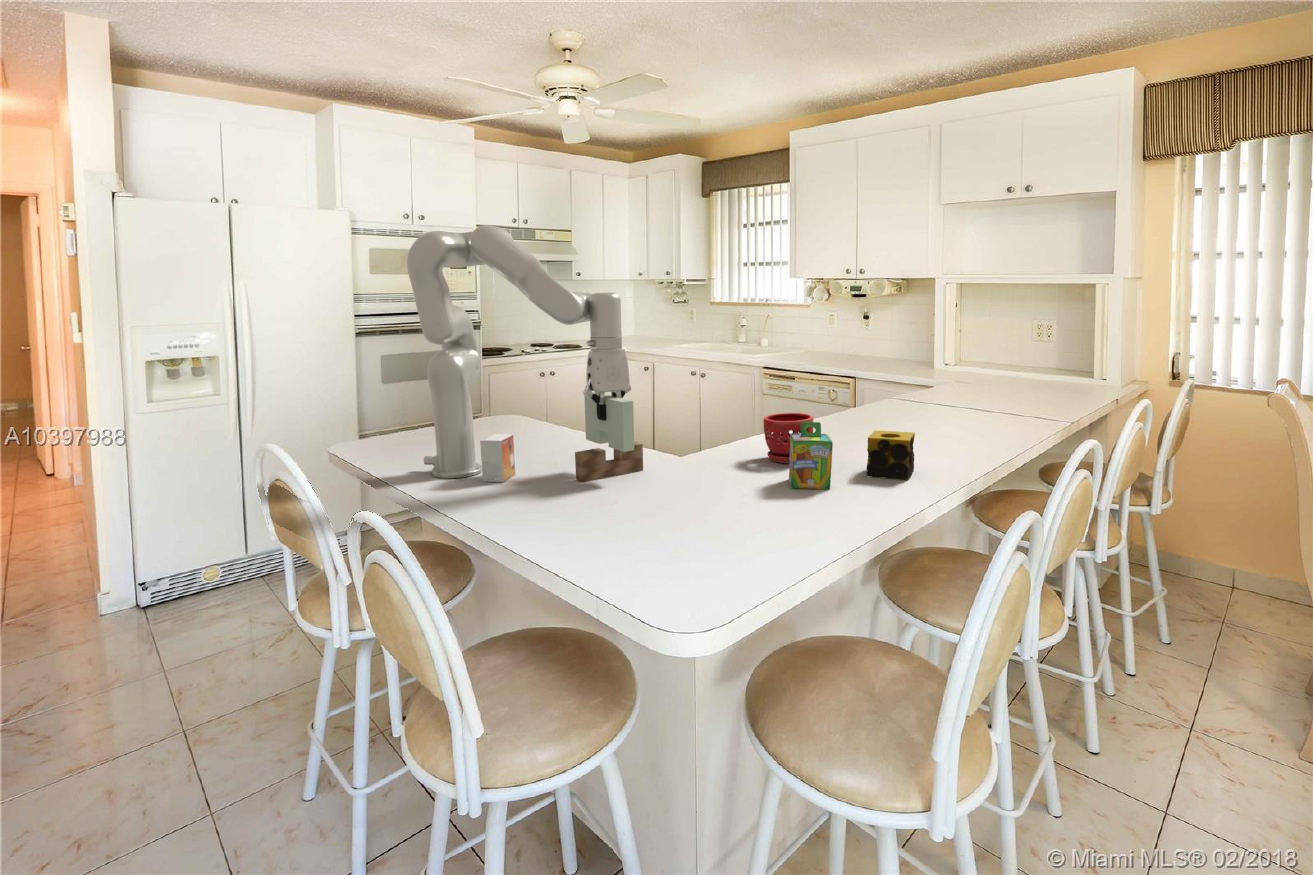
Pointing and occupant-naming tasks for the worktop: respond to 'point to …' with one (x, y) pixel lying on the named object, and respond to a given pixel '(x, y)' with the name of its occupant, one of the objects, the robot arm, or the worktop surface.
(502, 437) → the small box
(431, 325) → the robot arm
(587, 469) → the walnut board
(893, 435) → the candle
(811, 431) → the plant pot
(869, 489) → the worktop surface
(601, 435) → the green board
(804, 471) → the chalk box
